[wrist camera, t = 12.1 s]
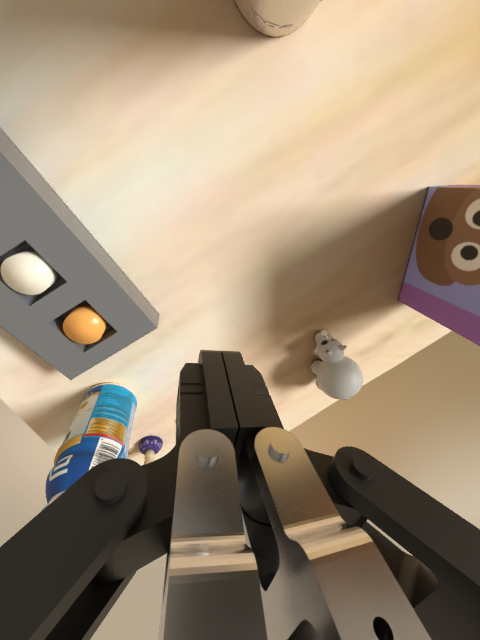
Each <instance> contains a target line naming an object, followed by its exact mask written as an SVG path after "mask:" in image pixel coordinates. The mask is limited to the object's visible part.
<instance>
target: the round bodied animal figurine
mask: <svg viewBox="0 0 480 640" xmlns="http://www.w3.org/2000/svg"><path fill="white" fill-rule="evenodd" d="M315 342H316V344H317V353H318V356H319V357H320V359H322V360H323V361H319V360H317V361H314V362H313V363H312V365H311V370H312V372H313V373H314V374H316V375H317V380H316V385H317V387H318V388H319V389H321V390H322V391H323V392H324V393H325V394H327V395H328V396H330V397H332V398H335V399H343V400H347V399H348V398H351V397H353V396H354V395H356V393H358V391H359V390H360V388H361V386H362V383H363V375H362V371H361V369H360V367H359V366H358V364H357V363H356V362H355V361H353V360H352V359H350V358H348V357H346V356H343V354H344V349H345V348H346V346H345V345H344V346H343V345H342V343H341V342H340V341H338V340H335V339H333V338H332V337H331V335H330V334H329V333H328V332H327V331H320V332H318V333H317V334H316V336H315Z"/></svg>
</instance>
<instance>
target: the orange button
mask: <svg viewBox="0 0 480 640" xmlns="http://www.w3.org/2000/svg"><path fill="white" fill-rule="evenodd" d="M107 325H108V322H107V321H106V320H105V319H104V318H103V317H102V316H101V315H100V314H99V313H98V312H97V311H96V310H95V309H94V308H93V307H92V306H91V305H90V304H89V303H88V302H83V303H80V304H78V305H77V306H76V307H75V308H74V309H73V310H72V312H71V313H70V314H69V315H68V316H67V318H66V319H65V320H64V322H63V330H64V332H65V334H66V335H67V337H68V338H70V339H71V340H73V341H75V342H77V343H80V344H91V343H94V342H96V341H98V340H99V339H100V338H101V337H102V335H103V333H104V331H105V329H106V327H107Z"/></svg>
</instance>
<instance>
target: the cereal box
mask: <svg viewBox="0 0 480 640" xmlns="http://www.w3.org/2000/svg"><path fill="white" fill-rule="evenodd" d="M398 301H400V302H402V303H404V304H406V305H407V306H409V307H411V308H413V309H414V310H416V311H418V312H420V313H422V314H423V315H425V316H427V317H429V318H431V319H432V320H434V321H436V322H438V323H440V324H441V325H443V326H445V327H447V328H448V329H450V330H452V331H454V332H456V333H457V334H459V335H461V336H463V337H465V338H466V339H468V340H470V341H472V342H474V343H475V344H477V345H479V346H480V185H448V186H434V187H428V189H427V192H426V196H425V200H424V204H423V207H422V211H421V215H420V219H419V222H418V226H417V230H416V233H415V237H414V241H413V245H412V248H411V252H410V256H409V260H408V263H407V267H406V271H405V274H404V278H403V282H402V286H401V289H400V293H399V297H398Z"/></svg>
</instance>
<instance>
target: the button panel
mask: <svg viewBox="0 0 480 640" xmlns="http://www.w3.org/2000/svg"><path fill="white" fill-rule="evenodd" d="M30 248H34V249H35V250H36V251H37V252H38V253H39V254H40V255H41V256H42V257H43V258H44V259H45V260H46V261H47V262H48V263H49V264H50V265H51V266H52V267H53V268H54V269H55V270H56V271H57V272H58V273H59V274H60V277H59V279H58V280H57V281H56V282H55V283H54V284H52V285H51V286H50V287H49V288H47V289H46V290H45V291H44V292H42V293H40V294H36V295H26V294H22V293H19V292H17V291H15V290H13V289H12V288H11V287H9V286H8V285H7V284H6V282H5V281H4V280H3V278H2V275H1V265H2V263H3V261H4V260H5V259H7V258H9V257H11V256H13V255H15V254H17V253H19V252H22V251H24V250H26V249H30ZM83 302H88V303H89V304H90V305H91V306H92V307H93V308H94V309H95V310H96V311H97V312H98V313H99V314H100V315H101V316H102V317H103V318H104V319H105V320H106V321H107V322H108V325H107V327H106V329H105V331H104V333H103V335H102V337H101V338H100V339H99V340H98V341H96V342H94V343H91V344H80V343H77V342H75V341H73V340H71V339H70V338H68V337H67V335H66V334H65V332H64V330H63V322H64V320H65V319H66V318H67V316H68V315H69V314H70V313H71V312H72V310H73V309H74V308H75V307H76V306H77V305H78V304H80V303H83ZM158 320H159V313H158V312H157V311H156V310H155V308H154V307H153V306H152V305H151V304H150V303H149V301H148V300H147V299H146V298H145V297H144V296H143V294H142V293H141V292H140V291H139V290H138V288H137V287H136V286H135V285H134V284H133V283H132V281H131V280H130V279H129V278H128V277H127V276H126V274H125V273H124V272H123V271H122V270H121V269H120V267H119V266H118V265H117V264H116V263H115V261H114V260H113V259H112V258H111V257H110V256H109V254H108V253H107V252H106V251H105V250H104V249H103V247H102V246H101V245H100V244H99V243H98V242H97V240H96V239H95V238H94V237H93V236H92V235H91V233H90V232H89V231H88V230H87V229H86V227H85V226H84V225H83V224H82V223H81V222H80V220H79V219H78V218H77V217H76V216H75V215H74V213H73V212H72V211H71V210H70V209H69V208H68V206H67V205H66V204H65V203H64V202H63V200H62V199H61V198H60V197H59V196H58V195H57V193H56V192H55V191H54V190H53V189H52V188H51V186H50V185H49V184H48V183H47V182H46V181H45V179H44V178H43V177H42V176H41V175H40V173H39V172H38V171H37V170H36V169H35V168H34V166H33V165H32V164H31V163H30V162H29V161H28V159H27V158H26V157H25V156H24V155H23V154H22V152H21V151H20V150H19V149H18V148H17V146H16V145H15V144H14V143H13V142H12V141H11V139H10V138H9V137H8V136H7V135H6V134H5V132H4V131H3V130H2V129H1V128H0V326H1V327H2V328H3V329H4V330H6V331H7V332H8V333H10V334H11V335H12V336H14V337H15V338H16V339H18V340H19V341H20V342H21V343H23V344H24V345H25V346H27V347H28V348H29V349H31V350H32V351H33V352H35V353H36V354H37V355H38V356H40V357H41V358H42V359H44V360H45V361H46V362H48V363H49V364H50V365H52V366H53V367H54V368H55V369H57V370H58V371H59V372H61V373H62V374H63V375H65V376H66V377H67V378H69V379H70V380H72V379H74V378H75V377H77V376H78V375H80V374H82V373H83V372H85V371H87V370H88V369H90V368H92V367H93V366H95V365H97V364H98V363H100V362H102V361H103V360H105V359H107V358H108V357H110V356H112V355H113V354H115V353H117V352H118V351H120V350H122V349H123V348H125V347H127V346H128V345H130V344H131V343H133V342H135V341H136V340H138V339H140V338H141V337H143V336H145V335H146V334H148V333H150V332H151V331H153V330H155V329H156V328H157V326H158Z"/></svg>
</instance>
